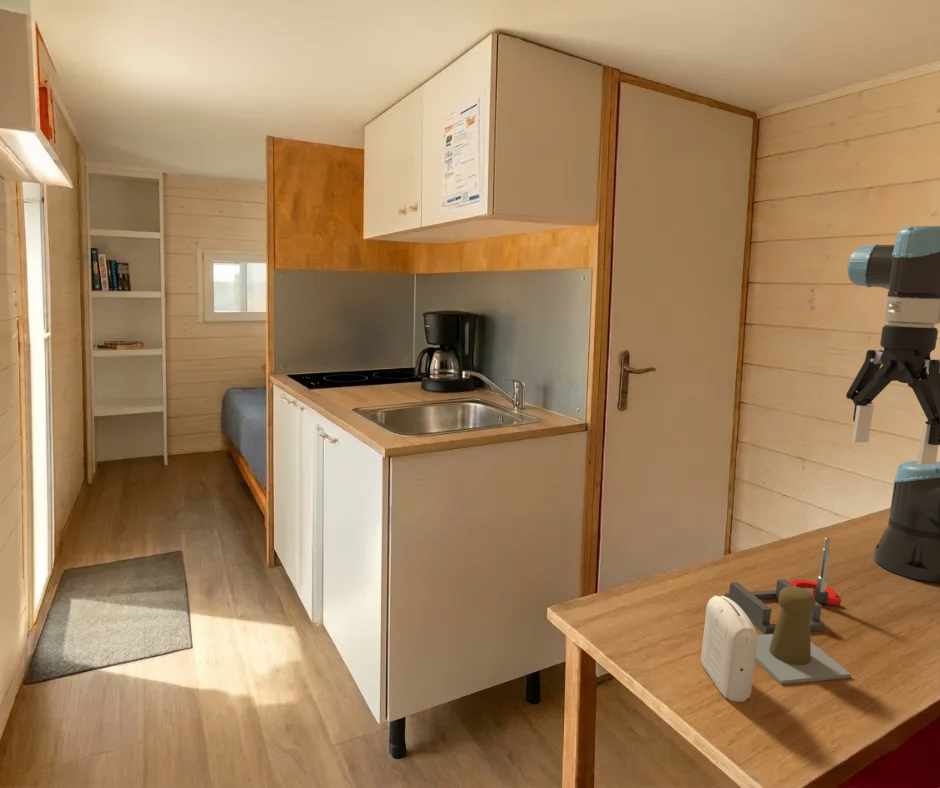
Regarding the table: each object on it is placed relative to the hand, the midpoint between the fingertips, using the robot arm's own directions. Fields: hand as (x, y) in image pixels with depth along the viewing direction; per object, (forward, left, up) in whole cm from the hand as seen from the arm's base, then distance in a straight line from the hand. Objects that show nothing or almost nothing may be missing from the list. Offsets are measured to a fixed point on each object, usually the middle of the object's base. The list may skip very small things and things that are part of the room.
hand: (891, 452), depth 109 cm
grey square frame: (+14, -6, -32) cm, 35 cm away
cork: (+20, +7, -31) cm, 38 cm away
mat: (+20, +7, -32) cm, 38 cm away
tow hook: (+1, -12, -32) cm, 34 cm away
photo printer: (+34, +11, -32) cm, 48 cm away
